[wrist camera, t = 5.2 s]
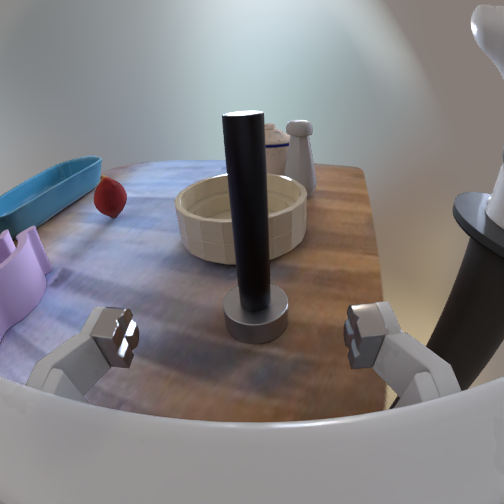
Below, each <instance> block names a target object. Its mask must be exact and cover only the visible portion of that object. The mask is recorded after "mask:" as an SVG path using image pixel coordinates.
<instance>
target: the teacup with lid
mask: <svg viewBox="0 0 504 504" xmlns="http://www.w3.org/2000/svg"><path fill="white" fill-rule="evenodd" d="M275 128H276V127H275V124H265V146H266V169H267V173H271V174H277V175H282V176H284V172H285V165H286V159H287V153H288V147H289V140H290V135H288V134H286V133H284V132H283V131H281V130H279V129H275Z"/></svg>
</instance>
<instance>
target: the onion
mask: <svg viewBox="0 0 504 504" xmlns="http://www.w3.org/2000/svg"><path fill="white" fill-rule="evenodd" d="M101 180H102V181H101V182H100V184H99V185H98V186H97V188H96V191H95V194H94V204H95V206H96V208H97V209H98V210H99V211H100V212H101V213H102V214H104V215H107V216H109V217H111V218H116V217H117V216H118V215H119V214H120V213H121V211H122V210H123V208H124V206H125V204H126V200H127V195H126V192H125V189H124V188H123V186H122V185H121V184H120V183H119V182H117V181H115V180H113V179H111V178H109V177H107V176H106V175H102V176H101Z"/></svg>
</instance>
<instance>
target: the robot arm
mask: <svg viewBox="0 0 504 504" xmlns="http://www.w3.org/2000/svg"><path fill="white" fill-rule="evenodd" d="M471 29H472V33H473V36H474V38H475V40H476V42H477V44H478V45H479V47H480V48H481V49H482V51H483V52H484V53H485V54H486V55H487V56H488V57H489V58H490V59H491V60H492V61H493V62H494V64H495V65H496V66H497V68H498V70H499V71H500V73H501V75H502V77H503V79H504V6H497V5H479V6H478V7H477V8H476V9H475V10H474V12H473V14H472V17H471ZM503 149H504V148H503ZM485 211H486V213H487V215H488V216H489V218H490V219H491V220H492V221H493V222H495V223H496V224H497V225H498V226H500V227H501V228H502V229H504V150H503V165H502V166H501V168H500V171H499V174H498V177H497V180H496V183H495V186H494V190H493V193H492V196H491V197H489V199H488V205H487V207H486V209H485ZM347 315H348V319H347V320H346V321H345V324H344V342H345V346H346V347H348V348H349V352H348V359H349V363H350V367H351V369H360V368H370V367H373V369H374V370H375V371H376V372H377V374H378V375H379V376H380V377H381V378H382V379H383V380H384V381H385V382H386V383H387V384H388V385H389V386H390V387H391V388H392V389H393V390H394V391H395V392H396V393H397V395H398V396H399V397H400V400H399V401H398V403H397V404H396V406H395V407H394V409H390V410H385V411H379V412H373V413H367V414H361V415H354V416H346V417H338V418H329V419H319V420H306V421H290V422H215V421H198V420H186V419H176V418H167V417H158V416H151V415H144V414H138V413H132V412H126V411H120V410H115V409H110V408H105V407H100V406H96V405H91V404H89V402H88V401H87V400H86V399H85V398H84V397H83V396H84V395H85V394H86V393H87V391H88V390H89V389H90V388H91V387H92V386H93V385H94V384H95V383H96V382H97V381H98V380H99V379H100V378H101V377H102V376H103V375H104V374H105V373H106V372H107V371H108V370H109V369H110V368H111V367H119V368H129V367H130V365H131V362H132V359H133V356H134V355H133V352H132V350H133V349H135V348H136V347H137V345H138V342H139V329H138V326H137V324H136V323H135V322H134V321H132V320H131V319H132V317H133V315H132V312H131V310H130V309H127V308H115V307H99V306H96V307H95V308H93V310H92V312H91V313H90V315H89V317H88V319H87V320H86V322H85V324H84V326H83V328H82V330H81V332H80V333H79V335H77V334H76V335H74V336H73V337H72V338H70V339H69V340H67V341H66V342H65V343H63V344H62V345H60V346H59V347H58V348H56V349H55V350H54V351H52V352H51V353H49V354H48V355H47V356H45V357H44V358H43V359H41V360H40V361H38V362H37V363H36V365H35V367H34V369H33V371H32V373H31V375H30V377H29V379H28V381H27V383H26V385H23V384H20V383H17V382H15V381H12V380H9V379H7V378H4V377H2V376H0V504H504V376H503V377H501V378H498V379H496V380H493V381H490V382H488V383H485V384H482V385H479V386H476V387H474V388H471V389H467V390H464V391H461V389H460V386H459V384H458V381H457V379H456V377H455V374H454V372H453V370H452V367H451V365H450V364H448V363H447V362H446V361H444V360H443V359H442V358H440V357H439V356H438V355H436V354H435V353H434V352H432V351H431V350H429V349H428V348H427V347H425V346H424V345H423V344H421V343H420V342H419V341H417V340H416V339H414V338H413V337H412V336H410V335H409V334H408V333H403V332H402V330H401V328H400V325H399V323H398V321H397V319H396V316H395V314H394V312H393V310H392V308H391V305H390V303H389V302H377V303H367V304H355V305H349V307H348V310H347Z"/></svg>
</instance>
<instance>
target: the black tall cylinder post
mask: <svg viewBox="0 0 504 504" xmlns="http://www.w3.org/2000/svg"><path fill="white" fill-rule="evenodd" d="M222 122H223V134H224V146H225V157H226V168H227V179H228V189H229V200H230V210H231V220H232V230H233V240H234V250H235V259H236V269H237V278H238V286H236V287H234V288H233V289H231V290H230V291H229V292H228V293H227V294H226V296H225V298H224V300H223V310H224V316H225V322H226V327H227V330H228V331H229V333H230V334H231V335H232V336H233V337H234V338H236V339H238V340H240V341H242V342H245V343H251V344H261V343H266V342H269V341H272V340H274V339H276V338H277V337H279V336H280V335H281V334H282V333H283V332H284V330H285V329H286V327H287V323H288V297H287V295H286V293H285V292H284V291H283V290H282V289H281V288H280V287H278V286H276V285H274V284H272V283H270V253H269V222H268V194H267V169H266V146H265V125H264V113H263V112H261V111H240V112H232V113H226V114H223V115H222Z"/></svg>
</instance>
